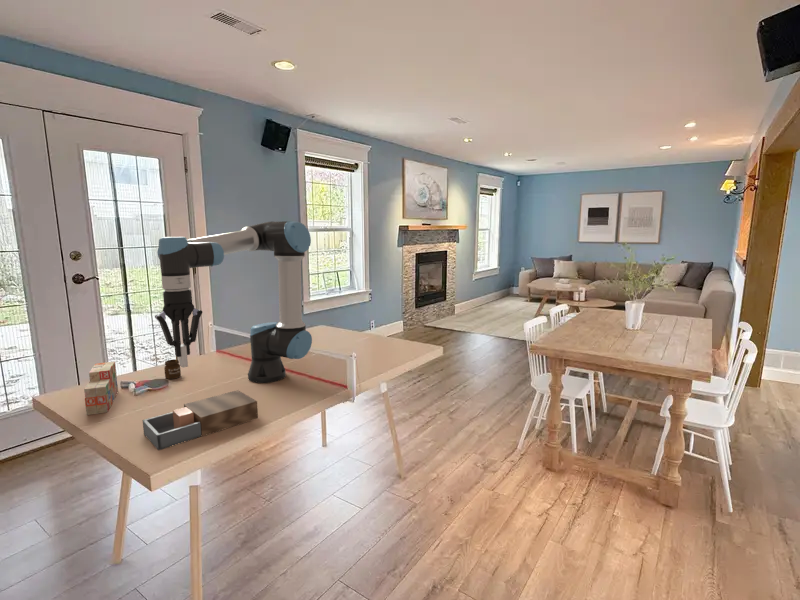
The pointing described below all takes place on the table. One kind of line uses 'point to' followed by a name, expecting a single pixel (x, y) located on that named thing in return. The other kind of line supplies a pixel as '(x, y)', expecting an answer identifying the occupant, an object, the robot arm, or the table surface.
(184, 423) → the salmon orange block
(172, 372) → the utensil holder
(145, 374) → the table surface
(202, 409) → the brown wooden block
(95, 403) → the stack of blocks
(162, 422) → the box
